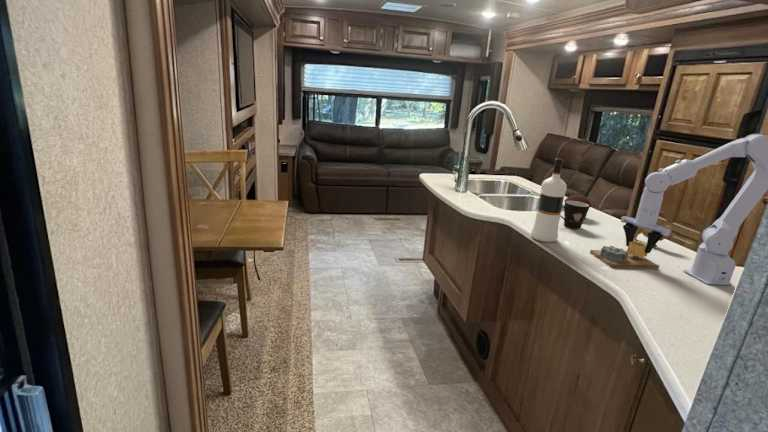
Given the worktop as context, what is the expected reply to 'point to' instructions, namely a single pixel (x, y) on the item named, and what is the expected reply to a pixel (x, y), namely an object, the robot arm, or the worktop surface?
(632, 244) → the ochre gear
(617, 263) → the gear board
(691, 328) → the worktop surface
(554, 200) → the vodka
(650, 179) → the robot arm
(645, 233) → the lion figurine
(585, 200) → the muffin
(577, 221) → the coffee mug
